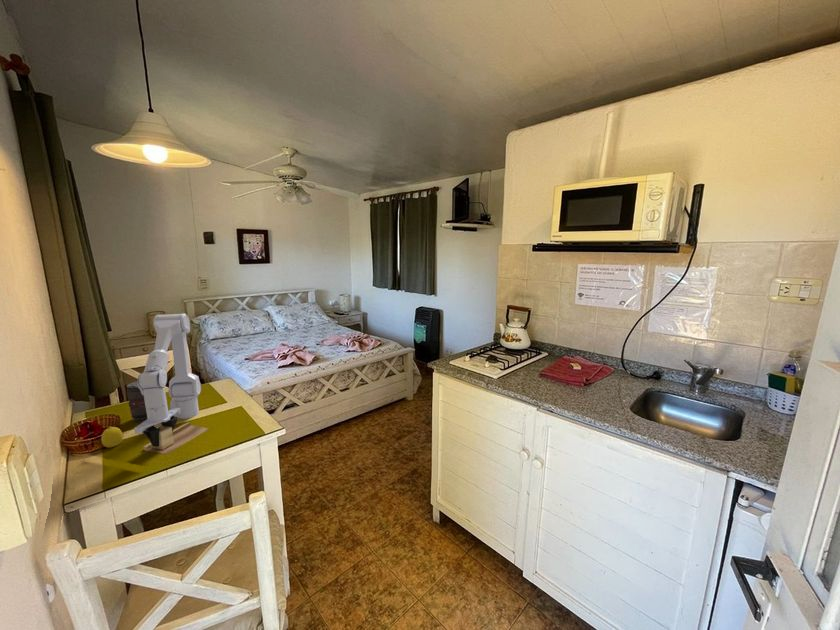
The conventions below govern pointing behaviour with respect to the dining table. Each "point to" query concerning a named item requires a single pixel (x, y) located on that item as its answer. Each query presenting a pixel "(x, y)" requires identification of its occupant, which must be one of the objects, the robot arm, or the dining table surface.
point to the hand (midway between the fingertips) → (162, 442)
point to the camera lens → (136, 403)
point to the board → (179, 438)
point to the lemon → (112, 437)
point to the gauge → (164, 437)
